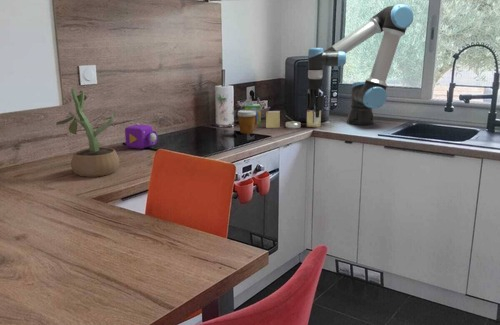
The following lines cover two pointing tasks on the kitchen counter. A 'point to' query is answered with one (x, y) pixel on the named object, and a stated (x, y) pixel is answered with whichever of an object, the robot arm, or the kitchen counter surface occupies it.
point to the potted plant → (91, 145)
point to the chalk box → (257, 109)
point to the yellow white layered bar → (312, 119)
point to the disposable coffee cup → (246, 121)
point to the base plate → (293, 124)
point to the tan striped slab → (272, 119)
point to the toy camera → (140, 136)
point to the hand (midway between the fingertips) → (314, 122)
